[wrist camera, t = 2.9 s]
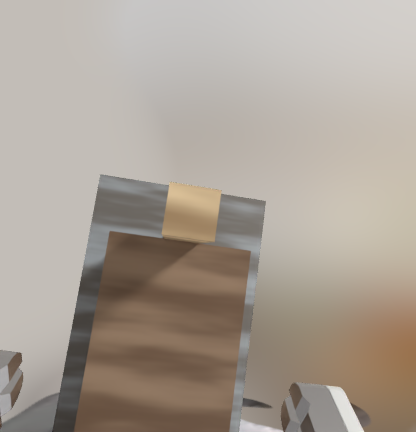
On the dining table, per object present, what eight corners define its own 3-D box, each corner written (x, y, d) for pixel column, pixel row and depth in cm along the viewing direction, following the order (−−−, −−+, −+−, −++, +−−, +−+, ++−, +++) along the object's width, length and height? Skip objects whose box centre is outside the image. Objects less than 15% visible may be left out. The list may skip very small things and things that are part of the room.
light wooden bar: (219, 242, 17) (227, 181, 17) (156, 233, 16) (166, 170, 17) (195, 244, 33) (200, 212, 33) (162, 240, 32) (168, 207, 33)
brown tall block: (285, 592, 23) (324, 173, 27) (-45, 589, 21) (53, 125, 25) (233, 438, 42) (261, 203, 46) (57, 426, 39) (103, 177, 43)
